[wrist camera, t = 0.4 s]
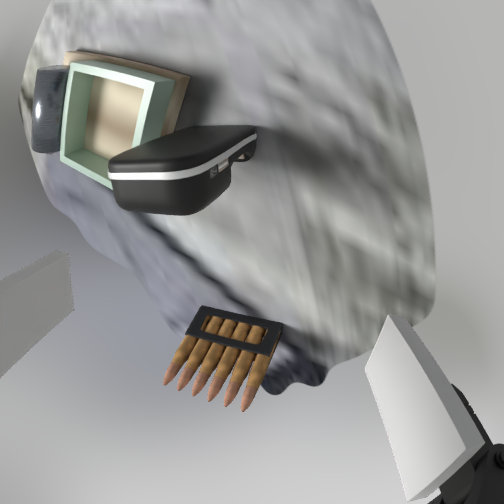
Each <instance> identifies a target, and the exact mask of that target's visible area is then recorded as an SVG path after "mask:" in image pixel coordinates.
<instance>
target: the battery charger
mask: <svg viewBox="0 0 504 504" xmlns="http://www.w3.org/2000/svg"><path fill="white" fill-rule="evenodd" d="M256 138H257V133H255V127H254V126H200V127H187V128H184V129H182V130H179V131H176V132H173V133H171V134H168V135H165V136H162V137H159V138H156V139H154V140H151V141H148V142H146V143H143V144H141V145H138V146H136V147H134V148H131V149H129V150H127V151H124V152H122V153H120V154H118V155H116V156H114V157H112V158H111V159H110V160H109V162H108V171H107V172H108V177H109V178H110V179H111V183H112V188H113V192H114V197H115V200H116V203H117V204H118V205H119V207H121V208H122V209H124V210H127V211H133V212H143V213H153V214H165V215H180V216H183V215H191V214H194V213H197V212H199V211H201V210H202V209H204V208H205V207H207V206H208V205H209V204H210V203H212V202H213V201H214V200H215V199H217V198H218V197H219V196H220V195H221V194H222V193H223V192H224V191H225V190H226V189H227V188H228V187H229V185H230V183H231V166H232V164H233V162H245V161H248V160H249V159H251V158H252V156H253V155H254V152H255V147H256Z"/></svg>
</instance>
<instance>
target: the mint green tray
mask: <svg viewBox="0 0 504 504" xmlns="http://www.w3.org/2000/svg"><path fill="white" fill-rule="evenodd" d="M189 80H190V76H187V75H184V74H181V73H177V72H174V71H170V70H167V69H163V68H159V67H155V66H152V65H148V64H144V63H139V62H135V61H131V60H126V59H121V58H116V57H111V56H106V55H100V54H94V53H87V52H80V51H68V52H66V53H65V57H64V62H63V65H56V66H48V67H43V68H40V69H38V70H37V75H36V82H35V90H34V100H33V113H32V137H31V147H32V149H33V150H34V151H35V152H39V153H46V154H53V153H55V152H58V151H60V161H62V162H64V163H65V164H67V165H69V166H71V167H73V168H74V169H76V170H78V171H80V172H81V173H83V174H85V175H87V176H89V177H90V178H92V179H94V180H96V181H98V182H99V183H101V184H103V185H105V186H107V187H108V188H110V189H112V190H113V188H112V183H111V179H110V178H109V177H108V172H107V171H108V162H109V160H110V159H111V158H112V157H114V156H116V155H118V154H120V153H122V152H124V151H127V150H129V149H131V148H134V147H136V146H138V145H141V144H143V143H146V142H148V141H151V140H154V139H156V138H159V137H162V136H165V135H168V134H171V133H173V132H174V129H175V126H176V122H177V119H178V115H179V112H180V109H181V105H182V102H183V99H184V96H185V92H186V89H187V86H188V83H189Z"/></svg>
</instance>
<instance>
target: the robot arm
mask: <svg viewBox="0 0 504 504" xmlns="http://www.w3.org/2000/svg"><path fill="white" fill-rule="evenodd" d="M69 263H70V262H69V253H65V252H61V251H58V250H56V251H54V252H52V253H50V254H48V255H47V256H44V257H43V258H41V259H39V260H37V261H35V262H33V263H31V264H29V265H28V266H26V267H24V268H22V269H20V270H18V271H16V272H15V273H13V274H11V275H9V276H8V277H6V278H4V279H2V280H1V281H0V378H1V377H2V376H3V375H4V374H5V373H6V372H7V371H8V370H9V369H10V368H11V367H12V366H13V365H14V364H15V363H16V362H17V361H18V360H19V359H20V358H21V357H22V356H24V355H25V354H26V353H27V352H28V351H29V350H30V349H31V348H32V347H33V346H34V345H35V344H36V343H37V342H39V341H40V340H41V339H42V338H43V337H44V336H45V335H46V334H47V333H48V332H49V331H51V330H52V329H53V328H54V327H55V326H56V325H57V324H59V323H60V322H61V321H62V320H63V319H64V318H65V317H67V316H68V315H69V314H70V313H71V312H72V311H74V303H73V295H72V287H71V275H70V264H69ZM365 372H366V375H367V378H368V380H369V383H370V386H371V389H372V391H373V394H374V397H375V400H376V403H377V405H378V408H379V411H380V414H381V417H382V420H383V423H384V426H385V429H386V432H387V435H388V438H389V442H390V445H391V448H392V451H393V455H394V458H395V461H396V464H397V468H398V471H399V475H400V478H401V482H402V486H403V489H404V493H405V497H406V500H407V502H409V501H413V500H417V499H421V498H425V497H427V496H429V495H430V494H431V493H433V492H434V491H435V490H436V489H437V488H440V491H441V494H440V495H439V496H437V497H436V498H435V499H433V500H432V501H431V502H429V503H428V504H504V444H495V445H493V444H492V442H491V440H490V438H489V436H488V435H487V433H486V431H485V430H484V428H483V426H482V424H481V422H480V421H479V419H478V417H477V416H476V414H474V411H473V409H472V408H471V406H470V405H468V404H469V403H468V401H467V399H466V398H465V396H464V395H463V393H462V392H461V391H460V390H459V389H457V388H456V387H455V386H454V385H453V384H450V382H449V381H448V379H447V378H446V376H445V374H444V373H443V372H442V370H441V368H440V367H439V365H438V364H437V362H436V361H435V359H434V358H433V357H432V355H431V354H430V352H429V351H428V349H427V348H426V346H425V345H424V343H423V342H422V341H421V339H420V338H419V336H418V335H417V334H416V332H415V331H414V329H413V328H412V327H411V325H410V324H409V323H408V321H407V320H406V319H405V317H404V316H397V315H389V314H388V316H387V318H386V321H385V323H384V326H383V328H382V331H381V333H380V335H379V338H378V340H377V342H376V345H375V347H374V349H373V351H372V354H371V356H370V358H369V360H368V362H367V364H366V367H365Z"/></svg>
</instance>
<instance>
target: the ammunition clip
mask: <svg viewBox="0 0 504 504" xmlns="http://www.w3.org/2000/svg"><path fill="white" fill-rule="evenodd" d="M282 328H283V324H282V323H280V322H275V321H270V320H265V319H260V318H255V317H251V316H246V315H242V314H237V313H233V312H228V311H224V310H220V309H215V308H211V307H207V306H203V305H202V306H201V307H200V308H199V310H198V312H197V314H196V315H195V317H194V319H193V321H192V322H191V324H190V326H189V328H188V329H187V331H186V333H185V335H186V336H185V338H184V340H183V341H182V343H181V344H180V346H179V348H178V349H177V351H176V353H175V356H174V358H173V360H172V362H171V364H170V366H169V367H168V369H167V372H166V374H165V377H164V381H163V385H167V384H168V383H169V382H170V381H171V380H172V379H173V378H174V377H175V376H176V375H177V373H178V372H179V370H180V369H181V367H182V366H183V364H184V363H185V362H186V361H187V360H188V362H187V364H186V366H185V368H184V370H183V372H182V374H181V376H180V378H179V382H178V386H177V390H178V391H180V390H181V389H182V388H184V387H185V386H186V385H187V384H188V382H189V381H190V380H191V378H192V376H193V375H194V373H195V372H196V370H197V369H198V367H199V366H200V365H201V364H202V366H201V369H200V371H199V374H198V375H197V377H196V380H195V382H194V385H193V389H192V396H195V395H196V394H198V393H199V392H200V391H201V390H202V388H203V387H204V385H205V384H206V382H207V381H208V379H209V377H210V376H211V374H212V372H213V371H214V370H215V369H216V367H217V370H216V373H215V375H214V378H213V380H212V383H211V385H210V388H209V391H208V402H210V401H211V400H212V399H213V398H214V397H215V396H216V395H217V394H218V393H219V391H220V389H221V388H222V385H223V384H224V382H225V380H226V379H227V377H228V375H229V374H230V373H231V371H232V369H233V367H234V365H235V367H234V369H233V373H232V377H231V379H230V383H229V385H228V388H227V391H226V394H225V399H224V406H225V407H227V406H228V405H229V404H230V403H231V402H232V401H233V399H234V398H235V396H236V395H237V393H238V391H239V389H240V387H241V385H242V383H243V381H244V380H245V378H246V377H247V375H248V373H249V370H250V368H251V365H252V363H253V361H254V363H253V366H252V368H251V371H250V373H249V378H248V382H247V385H246V389H245V391H244V394H243V398H242V403H241V411H242V412H244V411H245V410H246V409H247V408H248V407H249V406H250V404H251V403H252V401H253V399H254V397H255V394H256V392H257V390H258V388H259V386H260V384H261V383H262V381H263V379H264V377H265V374H266V371H267V368H268V366H269V364H270V361H271V359H272V356H273V354H274V352H275V349H276V347H277V344H278V342H279V340H280V337H281V335H282ZM248 334H249V335H248ZM247 336H248V337H247ZM262 338H263V340H262ZM245 341H246V342H245ZM261 341H262V342H261ZM256 353H257V354H256ZM238 357H239V358H238ZM237 358H238V360H237ZM220 359H221V360H220ZM219 361H220V362H219ZM236 361H237V362H236ZM202 362H203V363H202ZM218 363H219V364H218ZM235 363H236V364H235ZM217 365H218V366H217Z"/></svg>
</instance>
